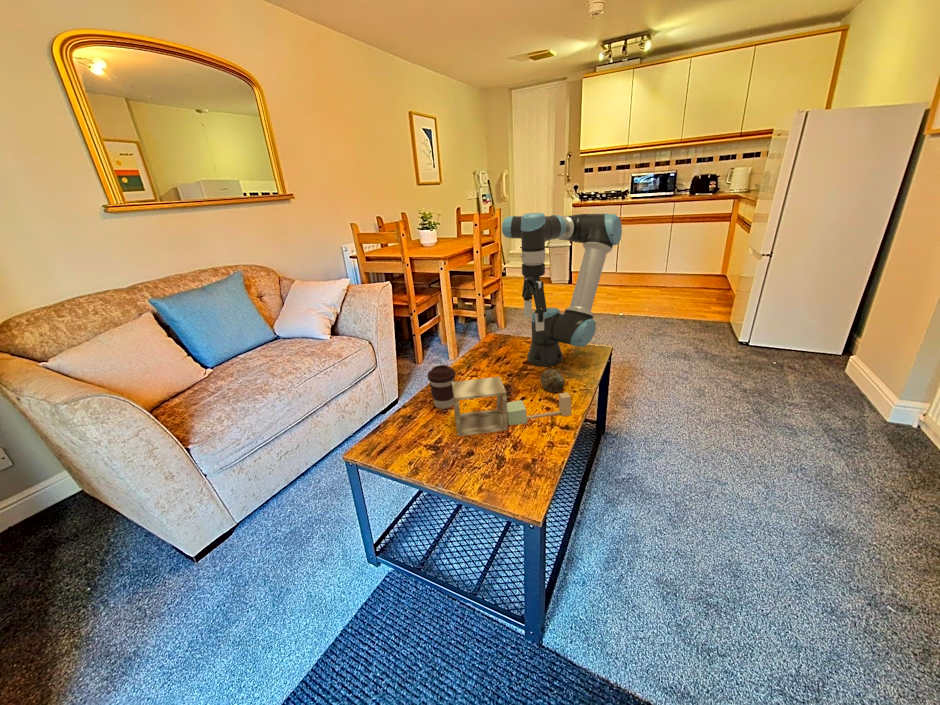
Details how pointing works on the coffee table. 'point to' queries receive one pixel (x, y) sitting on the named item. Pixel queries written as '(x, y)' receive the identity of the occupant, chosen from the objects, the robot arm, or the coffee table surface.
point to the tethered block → (518, 414)
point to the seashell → (552, 380)
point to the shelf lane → (481, 419)
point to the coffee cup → (442, 385)
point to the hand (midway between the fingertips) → (533, 324)
